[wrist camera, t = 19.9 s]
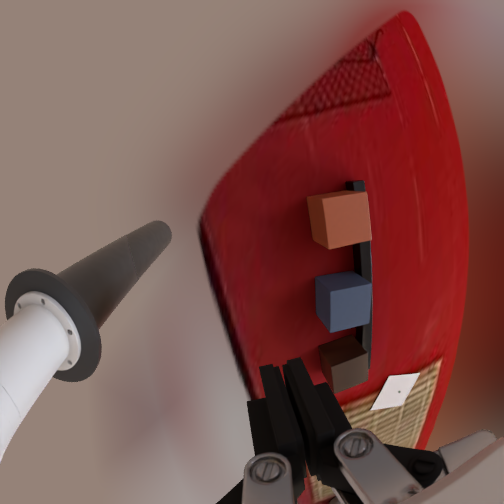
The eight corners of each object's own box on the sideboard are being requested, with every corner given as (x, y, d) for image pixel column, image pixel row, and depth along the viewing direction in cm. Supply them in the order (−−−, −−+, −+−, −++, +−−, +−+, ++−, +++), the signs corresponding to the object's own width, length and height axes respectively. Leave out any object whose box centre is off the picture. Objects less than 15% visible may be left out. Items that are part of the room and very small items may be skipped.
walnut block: (322, 372, 36) (334, 394, 31) (318, 345, 34) (330, 367, 30) (353, 360, 36) (368, 380, 31) (351, 333, 35) (367, 352, 30)
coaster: (370, 410, 39) (371, 412, 38) (389, 376, 38) (391, 378, 37) (401, 405, 40) (403, 407, 40) (420, 372, 39) (422, 375, 38)
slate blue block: (315, 313, 33) (330, 333, 28) (314, 276, 32) (330, 291, 27) (351, 306, 34) (369, 323, 29) (352, 270, 32) (371, 283, 28)
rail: (355, 364, 36) (361, 372, 34) (345, 181, 30) (352, 181, 28) (364, 361, 36) (370, 368, 34) (356, 180, 30) (364, 180, 28)
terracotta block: (312, 240, 31) (328, 249, 26) (306, 196, 30) (321, 198, 25) (351, 232, 31) (372, 240, 26) (345, 190, 30) (366, 191, 25)
